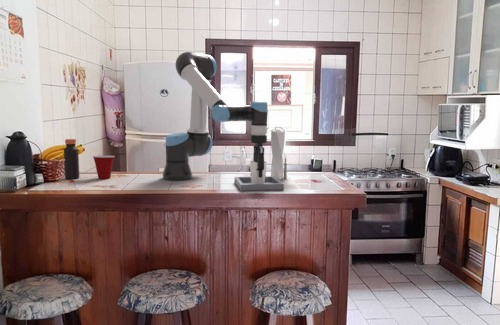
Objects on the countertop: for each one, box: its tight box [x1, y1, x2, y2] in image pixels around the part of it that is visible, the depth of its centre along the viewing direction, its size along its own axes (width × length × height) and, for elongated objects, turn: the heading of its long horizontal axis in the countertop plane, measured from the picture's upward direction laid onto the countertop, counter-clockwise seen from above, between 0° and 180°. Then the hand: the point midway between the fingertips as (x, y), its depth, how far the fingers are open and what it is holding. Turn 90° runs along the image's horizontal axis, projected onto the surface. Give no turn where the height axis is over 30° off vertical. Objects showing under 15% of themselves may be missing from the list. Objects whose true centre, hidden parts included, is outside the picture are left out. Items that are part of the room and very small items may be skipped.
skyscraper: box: [270, 126, 288, 182], centre depth 215 cm, size 8×8×28 cm
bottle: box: [63, 138, 80, 180], centre depth 209 cm, size 7×7×20 cm
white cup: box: [249, 160, 268, 184], centre depth 196 cm, size 8×8×10 cm
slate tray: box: [234, 175, 285, 192], centre depth 196 cm, size 20×20×3 cm
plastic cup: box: [92, 154, 116, 180], centre depth 211 cm, size 11×11×12 cm
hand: (258, 182), depth 196 cm, fingers closed on white cup, 7 cm apart
